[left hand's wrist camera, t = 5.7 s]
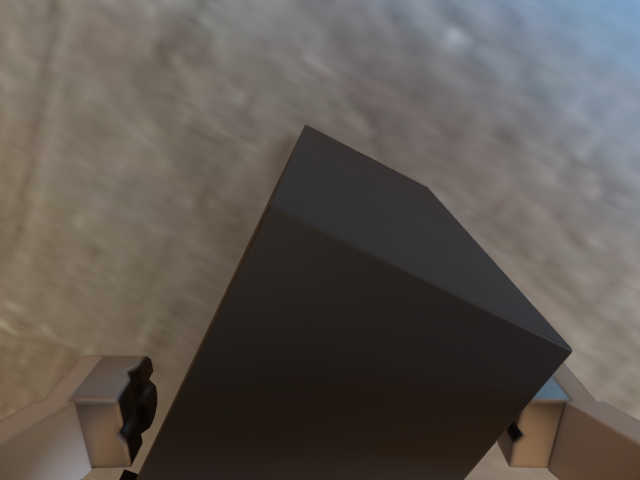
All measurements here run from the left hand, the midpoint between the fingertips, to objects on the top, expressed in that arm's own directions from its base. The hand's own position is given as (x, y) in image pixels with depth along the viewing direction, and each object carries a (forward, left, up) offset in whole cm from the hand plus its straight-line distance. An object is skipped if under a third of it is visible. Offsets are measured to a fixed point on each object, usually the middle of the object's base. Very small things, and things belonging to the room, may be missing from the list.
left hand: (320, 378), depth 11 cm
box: (+8, 0, -10) cm, 13 cm away
